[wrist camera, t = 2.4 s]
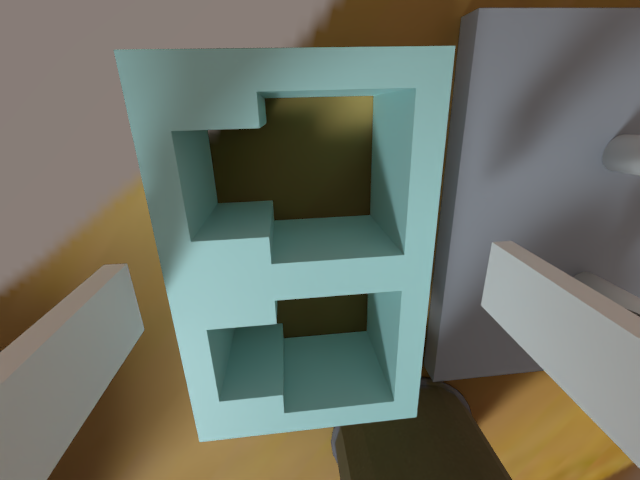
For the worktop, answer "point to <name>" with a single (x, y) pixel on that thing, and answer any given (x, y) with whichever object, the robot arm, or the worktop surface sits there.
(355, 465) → the canister
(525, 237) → the board
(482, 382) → the worktop surface
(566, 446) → the worktop surface
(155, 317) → the worktop surface
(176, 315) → the teal breeze block
